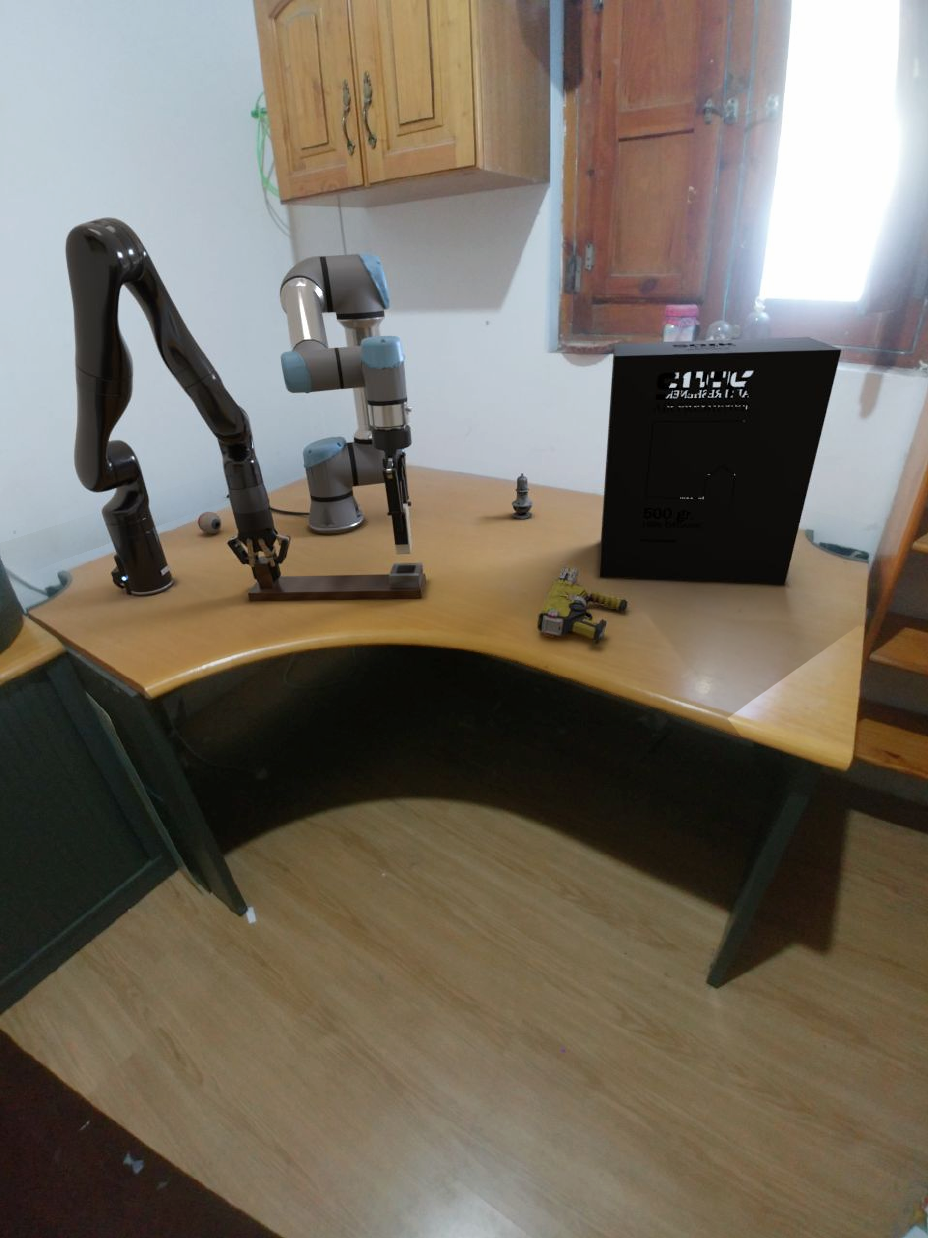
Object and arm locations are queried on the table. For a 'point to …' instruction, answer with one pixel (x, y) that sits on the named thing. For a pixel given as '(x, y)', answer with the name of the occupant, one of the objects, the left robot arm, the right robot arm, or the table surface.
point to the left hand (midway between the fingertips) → (268, 579)
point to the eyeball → (209, 522)
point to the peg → (408, 548)
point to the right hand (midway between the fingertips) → (403, 540)
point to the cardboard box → (711, 457)
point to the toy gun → (574, 609)
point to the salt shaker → (522, 499)
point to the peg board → (339, 584)
